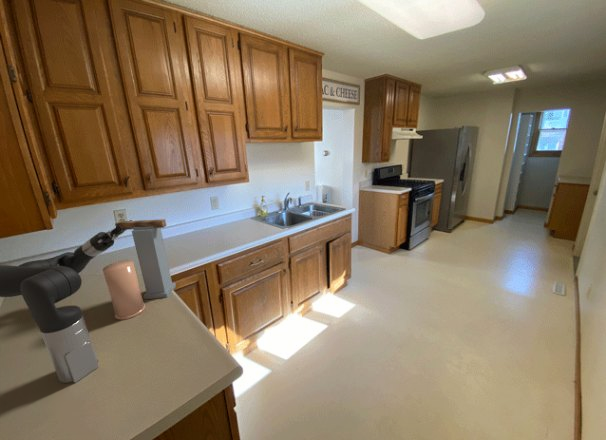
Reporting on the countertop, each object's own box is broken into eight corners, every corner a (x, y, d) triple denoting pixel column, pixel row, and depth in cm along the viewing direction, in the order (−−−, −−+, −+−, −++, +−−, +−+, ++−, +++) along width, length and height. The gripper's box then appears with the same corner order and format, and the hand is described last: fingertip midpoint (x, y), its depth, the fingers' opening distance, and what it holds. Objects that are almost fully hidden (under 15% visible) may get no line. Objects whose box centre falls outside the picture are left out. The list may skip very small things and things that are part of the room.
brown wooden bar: (166, 225, 113) (165, 219, 112) (163, 227, 110) (161, 221, 109) (121, 228, 113) (119, 221, 112) (116, 230, 110) (114, 223, 109)
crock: (150, 307, 109) (140, 262, 103) (125, 322, 99) (111, 274, 94) (135, 301, 113) (124, 258, 107) (109, 316, 104) (95, 269, 98)
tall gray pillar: (175, 285, 125) (162, 221, 116) (167, 297, 116) (152, 228, 107) (154, 287, 125) (140, 223, 116) (144, 299, 115) (127, 229, 106)
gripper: (114, 245, 120) (141, 226, 118) (93, 257, 106) (123, 236, 105) (102, 232, 118) (130, 213, 116) (79, 243, 104) (110, 222, 103)
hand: (127, 224), depth 111 cm, fingers open, 8 cm apart
